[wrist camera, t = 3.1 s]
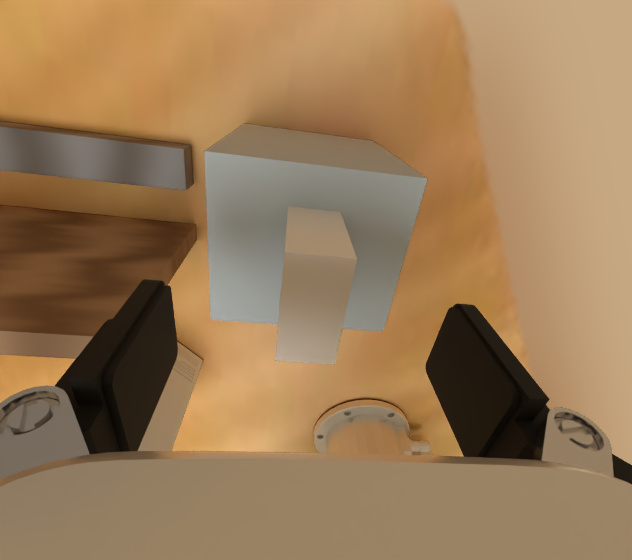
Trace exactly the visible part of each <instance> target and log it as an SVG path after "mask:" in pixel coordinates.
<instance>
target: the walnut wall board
mask: <svg viewBox="0 0 632 560" xmlns="http://www.w3.org/2000/svg"><path fill="white" fill-rule="evenodd" d="M0 170H4V171H13V172H22V173H31V174H40V175H49V176H58V177H67V178H77V179H86V180H95V181H104V182H113V183H122V184H131V185H140V186H149V187H158V188H167V189H176V190H185V191H186V190H187V189H189V188H190V187H191V186H192V185H193V169H192V151H191V145H188V144H180V143H172V142H164V141H156V140H148V139H140V138H132V137H124V136H116V135H108V134H100V133H92V132H84V131H76V130H68V129H60V128H52V127H44V126H36V125H28V124H20V123H12V122H4V121H0ZM196 240H197V239H196V224H186V223H176V222H166V221H156V220H146V219H136V218H126V217H116V216H106V215H96V214H86V213H76V212H66V211H56V210H46V209H36V208H26V207H16V206H6V205H0V355H17V356H36V357H54V358H72V359H76V358H77V357H78V356H79V354H80V353H81V352H82V351H83V349H84V348H85V347H86V345H87V344H88V343H89V342H90V340H91V339H92V338H93V337H94V335H95V334H96V333H97V331H98V330H99V329H100V328H101V326H102V325H103V324H104V323H105V322H106V321H107V320H109V319H113V318H114V316H115V315H116V314H117V313H118V311H119V310H120V309H121V307H122V306H123V305H124V303H125V302H126V301H127V299H128V298H129V297H130V296H131V294H132V293H133V292H134V290H135V289H136V288H137V286H138V285H139V284H140V282H141V281H142V280H144V279H148V280H161V281H164V283H165V285H168V283H169V282H170V280H171V279H172V277H173V276H174V274H175V273H176V271H177V269H178V268H179V266H180V265H181V263H182V262H183V260H184V259H185V257H186V256H187V254H188V253H189V251H190V250H191V248H192V247H193V245H194V244H195V242H196Z"/></svg>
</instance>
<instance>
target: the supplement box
mask: <svg viewBox="0 0 632 560" xmlns="http://www.w3.org/2000/svg"><path fill="white" fill-rule="evenodd" d="M177 345H178V354H177V359H176V362H175V364H174V366H173V369H172V371H171V373H170V376H169V378H168V380H167V383H166V385H165V388H164V390H163V392H162V395H161V397H160V399H159V402H158V404H157V406H156V409H155V411H154V413H153V416H152V418H151V421H150V423H149V425H148V428H147V430H146V432H145V435H144V437H143V439H142V442H141V444H140V446H139V449H138V451H172V448H173V445H174V442H175V440H176V437H177V434H178V431H179V428H180V425H181V422H182V420H183V417H184V414H185V411H186V408H187V406H188V403H189V400H190V397H191V394H192V391H193V388H194V386H195V383H196V380H197V377H198V374H199V371H200V369H201V366H202V363H203V360H202V359H201V358H199V357H198V356H197V355H195V354H194V353H193V352H191V351H190V350H188V349H187V348H186V347H184V346H183V345H182V344H180V343H179V342H178V341H177Z"/></svg>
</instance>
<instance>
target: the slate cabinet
mask: <svg viewBox="0 0 632 560" xmlns="http://www.w3.org/2000/svg"><path fill="white" fill-rule="evenodd" d="M204 155H205V181H206V207H207V233H208V259H209V285H210V311H211V320H222V321H237V322H251V323H265V324H278V331H277V344H276V357H275V361H283V362H300V363H318V364H335V361H336V356H337V351H338V346H339V342H340V337H341V332H342V329H351V330H365V331H380V332H383V331H384V327H385V324H386V320H387V317H388V313H389V310H390V307H391V303H392V300H393V296H394V293H395V289H396V286H397V283H398V279H399V276H400V272H401V269H402V265H403V262H404V259H405V255H406V252H407V248H408V245H409V241H410V238H411V235H412V231H413V228H414V224H415V221H416V217H417V214H418V211H419V207H420V204H421V200H422V197H423V194H424V190H425V187H426V183H427V180H428V178H426V177H425V176H423V175H422V174H420V173H419V172H418V171H416V170H415V169H413V168H412V167H410V166H409V165H407V164H406V163H405V162H403V161H402V160H400V159H399V158H397V157H396V156H395V155H393V154H392V153H390V152H389V151H387V150H386V149H384V148H383V147H382V146H380V145H379V144H377V143H376V142H374V141H372V140H364V139H357V138H349V137H342V136H334V135H327V134H320V133H312V132H305V131H297V130H290V129H282V128H275V127H267V126H260V125H252V124H245V123H244V124H243V125H241V126H240V127H239V128H237V129H236V130H234V131H233V132H231V133H230V134H228V135H227V136H225V137H224V138H223V139H221V140H220V141H218V142H217V143H215V144H214V145H212V146H211V147H210V148H208V149H207V150H205V151H204Z"/></svg>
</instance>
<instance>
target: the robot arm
mask: <svg viewBox="0 0 632 560" xmlns="http://www.w3.org/2000/svg"><path fill="white" fill-rule="evenodd" d="M177 354H178V345H177V337H176V328H175V319H174V310H173V302H172V293H171V287H170V286H167V285H165V283H164V281H161V280H148V279H144V280H142V281H141V282H140V284H139V285H138V286H137V288H136V289H135V290H134V292H133V293H132V294H131V296H130V297H129V298H128V299H127V301H126V302H125V303H124V305H123V306H122V307H121V309H120V310H119V311H118V313H117V314H116V315H115V316H114V318H113V319H109V320H107V321H106V322H105V323H104V324H103V325H102V326H101V328H100V329H99V330H98V331H97V333H96V334H95V335H94V337H93V338H92V339H91V340H90V342H89V343H88V344H87V345H86V347H85V348H84V349H83V351H82V352H81V353H80V354H79V356H78V357H77V358H76V359H75V361H74V362H73V363H72V365H71V366H70V367H69V368H68V370H67V371H66V372H65V374H64V375H63V376H62V377H61V379H60V380H59V381H58V382H57V384H56V385H55V386H39V387H33V388H30V389H26V390H23V391H21V392H19V393H16V394H14V395H12V396H10V397H9V398H7V399H6V400H4V401H3V402H1V403H0V560H632V465H630V464H628V463H627V462H625V461H623V460H622V459H620V458H618V457H616V456H615V455H613V454H612V448H611V444H610V441H609V439H608V438H607V436H606V435H605V434H604V432H603V431H602V430H601V429H600V428H599V427H598V426H597V425H596V424H595V423H593V422H592V421H591V420H590V419H588V418H587V417H585V416H583V415H582V414H579V413H578V412H575V411H573V410H571V409H567V408H562V407H558V408H553V409H551V410H550V409H549V408H548V407H547V406H546V403H547V402H548V401H549V398H548V397H547V396H546V394H545V393H544V392H543V391H542V389H541V388H540V387H539V386H538V384H537V383H536V382H535V381H534V379H533V378H532V377H531V376H530V374H529V373H528V372H527V371H526V369H525V368H524V367H523V366H522V364H521V363H520V362H519V361H518V359H517V358H516V357H515V356H514V354H513V353H512V352H511V351H510V349H509V348H508V347H507V345H506V344H505V343H504V342H503V340H502V339H501V338H500V337H499V335H498V334H497V333H496V332H495V330H494V329H493V328H492V327H491V325H490V324H489V323H488V322H487V320H486V319H485V318H484V317H483V315H482V314H481V313H480V312H479V310H478V309H477V308H476V307H475V306H474V305H468V304H455V305H454V306H453V307H451V308H449V310H448V312H447V314H446V316H445V319H444V321H443V324H442V326H441V329H440V331H439V333H438V336H437V338H436V341H435V343H434V346H433V348H432V350H431V353H430V355H429V358H428V360H427V363H426V372H427V375H428V377H429V379H430V382H431V384H432V386H433V388H434V390H435V393H436V395H437V397H438V399H439V402H440V404H441V406H442V408H443V410H444V413H445V415H446V417H447V419H448V422H449V424H450V426H451V428H452V431H453V433H454V435H455V437H456V439H457V442H458V444H459V446H460V448H461V451H462V453H463V455H464V457H452V456H433V453H432V451H430V443H429V441H427V440H417V441H412V440H411V439H410V438H408V437H409V432H410V431H409V425H408V422H407V419H406V417H405V415H404V414H403V412H402V411H400V410H399V409H398V408H397V407H395V406H393V405H391V404H389V403H386V402H382V401H377V400H356V401H351V402H347V403H344V404H341V405H338V406H336V407H334V408H332V409H331V410H329V411H328V412H326V413H325V414H324V415H323V416H322V417H321V418H320V419H319V420H318V422H317V424H316V425H315V428H314V445H315V447H316V449H317V451H318V452H319V453H288V452H230V451H138V449H139V446H140V444H141V442H142V439H143V437H144V435H145V432H146V430H147V428H148V425H149V423H150V421H151V418H152V416H153V413H154V411H155V409H156V406H157V404H158V402H159V399H160V397H161V395H162V392H163V390H164V388H165V385H166V383H167V380H168V378H169V376H170V373H171V371H172V369H173V366H174V364H175V362H176V359H177Z"/></svg>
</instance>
